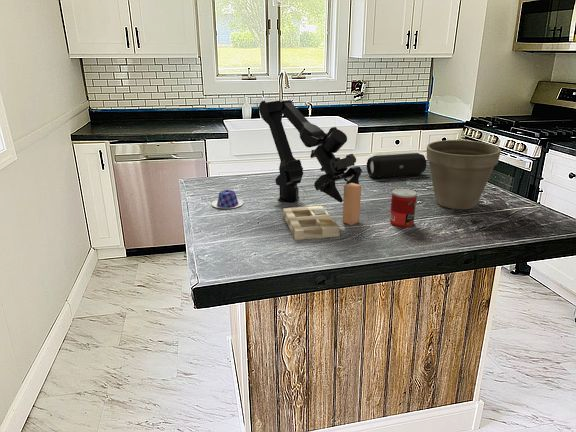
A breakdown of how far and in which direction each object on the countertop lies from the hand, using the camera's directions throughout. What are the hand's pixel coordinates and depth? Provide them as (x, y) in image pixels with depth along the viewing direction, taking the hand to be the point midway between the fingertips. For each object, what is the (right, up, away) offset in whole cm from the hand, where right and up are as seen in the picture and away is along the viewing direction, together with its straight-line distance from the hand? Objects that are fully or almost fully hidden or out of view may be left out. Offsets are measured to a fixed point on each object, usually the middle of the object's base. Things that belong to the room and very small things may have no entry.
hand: (351, 198), depth 148 cm
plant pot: (+42, -1, +20) cm, 47 cm away
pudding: (-44, -2, +20) cm, 48 cm away
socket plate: (-14, -9, 0) cm, 17 cm away
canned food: (+17, -8, +1) cm, 19 cm away
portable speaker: (+28, +13, +56) cm, 64 cm away
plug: (0, -8, +3) cm, 8 cm away
